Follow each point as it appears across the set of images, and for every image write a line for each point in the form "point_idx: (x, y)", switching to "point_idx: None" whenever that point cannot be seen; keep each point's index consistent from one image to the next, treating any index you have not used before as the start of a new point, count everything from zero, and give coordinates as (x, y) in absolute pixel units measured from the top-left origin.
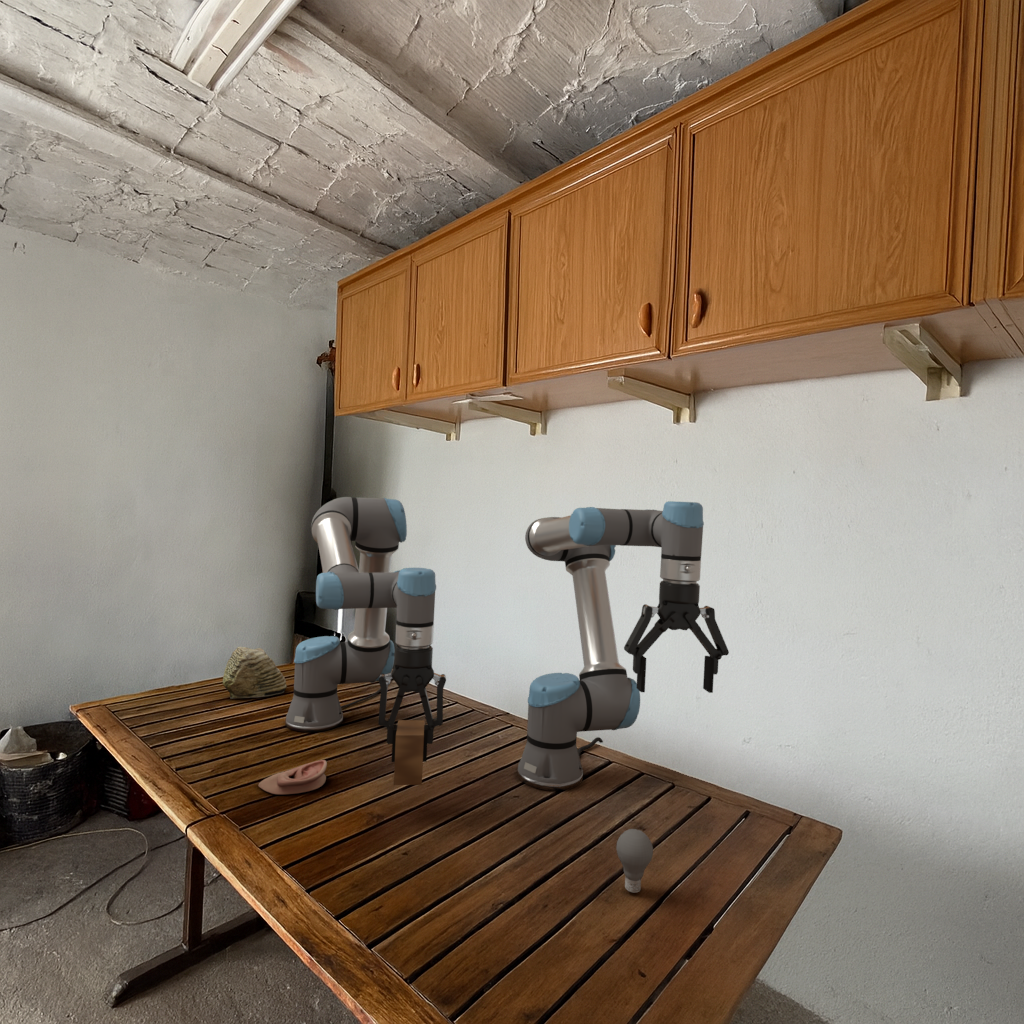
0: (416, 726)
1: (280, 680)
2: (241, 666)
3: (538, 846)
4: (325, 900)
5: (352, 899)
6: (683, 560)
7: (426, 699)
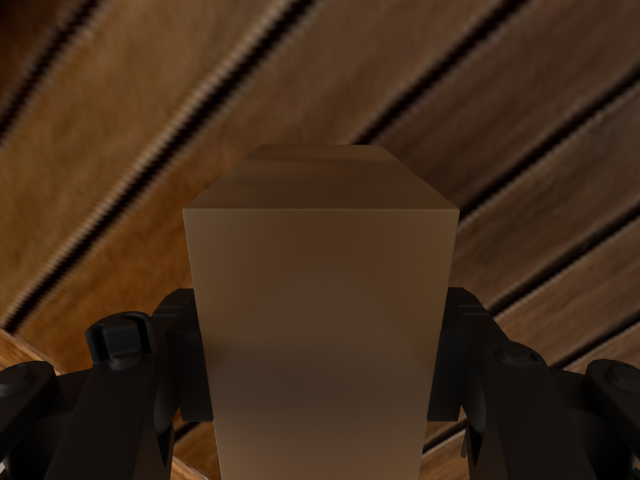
0: (369, 361)
1: None
2: None
3: (617, 349)
4: (201, 465)
5: None
6: None
7: None
